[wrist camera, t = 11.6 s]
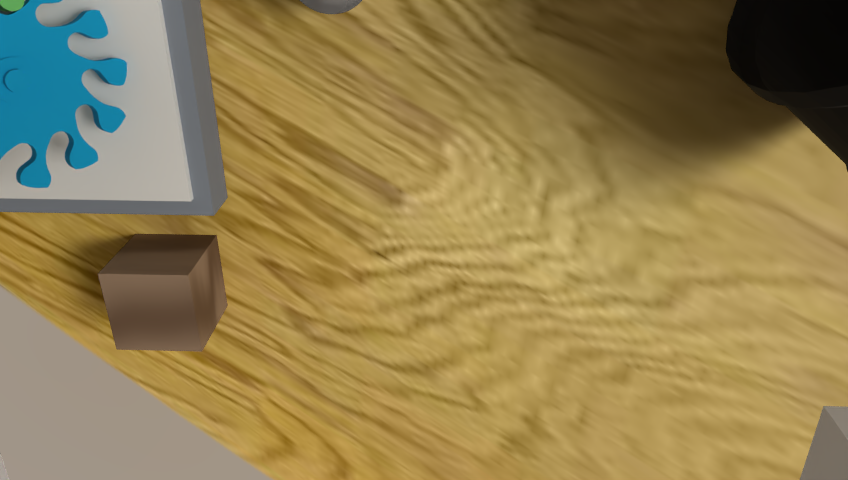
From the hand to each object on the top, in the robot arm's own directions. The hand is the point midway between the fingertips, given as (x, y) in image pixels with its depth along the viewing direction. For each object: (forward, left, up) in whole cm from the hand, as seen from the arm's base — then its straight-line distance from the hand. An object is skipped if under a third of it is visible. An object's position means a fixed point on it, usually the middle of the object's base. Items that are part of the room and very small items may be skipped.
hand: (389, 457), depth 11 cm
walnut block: (+13, -16, -29) cm, 35 cm away
